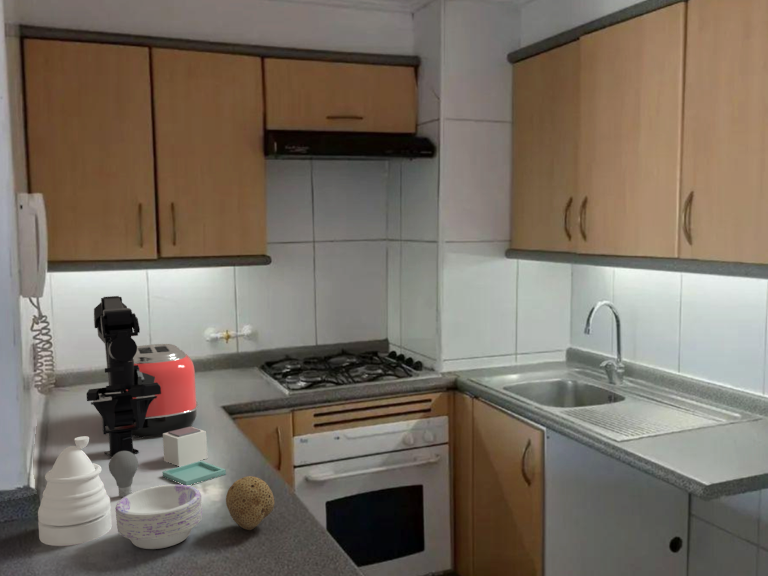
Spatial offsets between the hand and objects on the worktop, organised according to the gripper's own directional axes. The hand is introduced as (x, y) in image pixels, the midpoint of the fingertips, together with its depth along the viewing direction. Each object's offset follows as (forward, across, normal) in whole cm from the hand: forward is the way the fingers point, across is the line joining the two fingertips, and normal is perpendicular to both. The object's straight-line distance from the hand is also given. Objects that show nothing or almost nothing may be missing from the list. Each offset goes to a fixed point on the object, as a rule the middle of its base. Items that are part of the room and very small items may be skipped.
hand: (126, 428), depth 169 cm
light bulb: (+14, -8, +9) cm, 18 cm away
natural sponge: (+19, -43, +11) cm, 49 cm away
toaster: (+3, +28, -38) cm, 47 cm away
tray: (+12, -13, -7) cm, 19 cm away
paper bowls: (+19, -31, +22) cm, 42 cm away
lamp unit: (+10, -3, -15) cm, 19 cm away
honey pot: (+16, -13, +26) cm, 33 cm away
